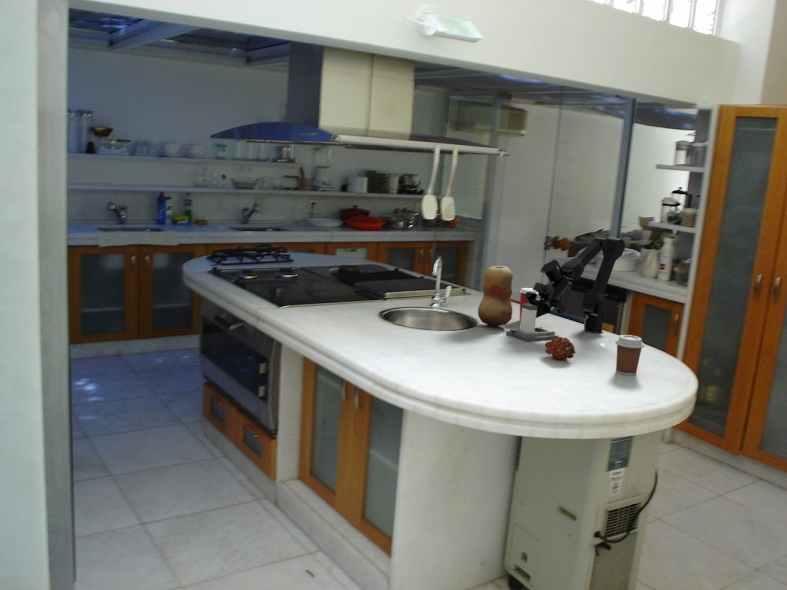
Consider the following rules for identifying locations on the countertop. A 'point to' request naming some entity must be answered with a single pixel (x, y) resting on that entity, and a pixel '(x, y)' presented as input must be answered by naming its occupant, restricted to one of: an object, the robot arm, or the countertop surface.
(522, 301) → the paper cup
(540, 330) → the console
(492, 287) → the butternut squash
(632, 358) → the coffee cup
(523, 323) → the plate
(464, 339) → the countertop surface
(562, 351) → the dragon fruit
